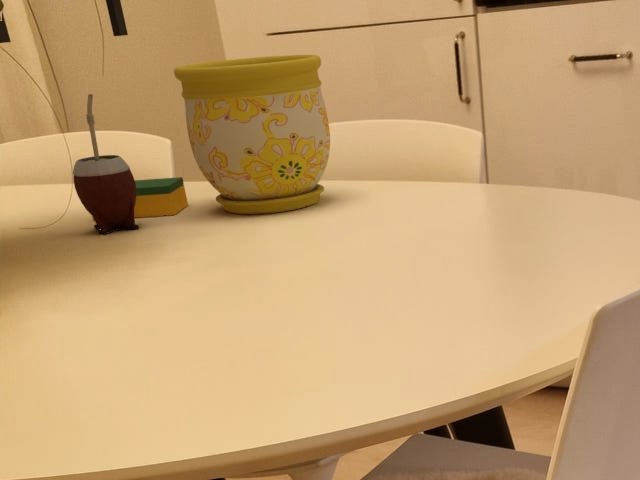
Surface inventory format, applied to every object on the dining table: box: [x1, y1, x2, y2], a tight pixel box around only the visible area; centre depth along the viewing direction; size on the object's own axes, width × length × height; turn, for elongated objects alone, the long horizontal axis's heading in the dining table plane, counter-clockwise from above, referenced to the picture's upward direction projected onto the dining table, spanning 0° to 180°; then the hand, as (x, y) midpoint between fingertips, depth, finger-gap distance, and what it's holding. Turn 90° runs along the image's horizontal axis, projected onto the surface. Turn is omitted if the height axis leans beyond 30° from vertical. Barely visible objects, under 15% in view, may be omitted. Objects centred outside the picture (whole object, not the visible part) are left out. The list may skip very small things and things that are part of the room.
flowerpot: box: [173, 54, 331, 215], centre depth 121 cm, size 18×18×16 cm
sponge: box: [91, 176, 189, 221], centre depth 126 cm, size 11×7×4 cm, turn 90°
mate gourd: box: [72, 93, 139, 235], centre depth 114 cm, size 8×8×15 cm
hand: (61, 39), depth 107 cm, fingers open, 13 cm apart
